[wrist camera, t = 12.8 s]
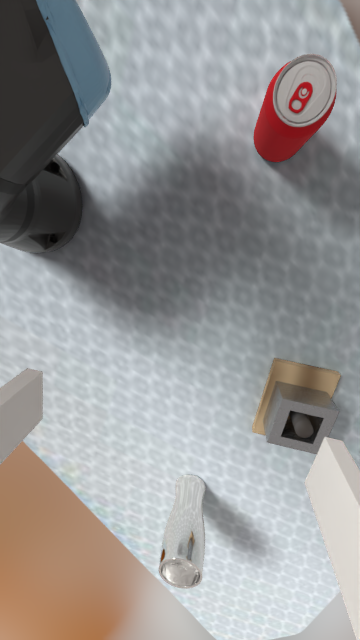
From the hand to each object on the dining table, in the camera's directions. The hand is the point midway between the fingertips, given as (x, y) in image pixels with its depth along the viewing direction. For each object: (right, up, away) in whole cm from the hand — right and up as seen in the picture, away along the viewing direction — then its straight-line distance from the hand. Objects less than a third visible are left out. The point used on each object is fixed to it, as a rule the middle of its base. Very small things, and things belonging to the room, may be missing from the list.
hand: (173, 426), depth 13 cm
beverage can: (+13, +28, +22) cm, 38 cm away
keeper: (+19, -9, +33) cm, 40 cm away
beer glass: (+2, -28, +43) cm, 51 cm away
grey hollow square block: (+19, -9, +32) cm, 39 cm away
